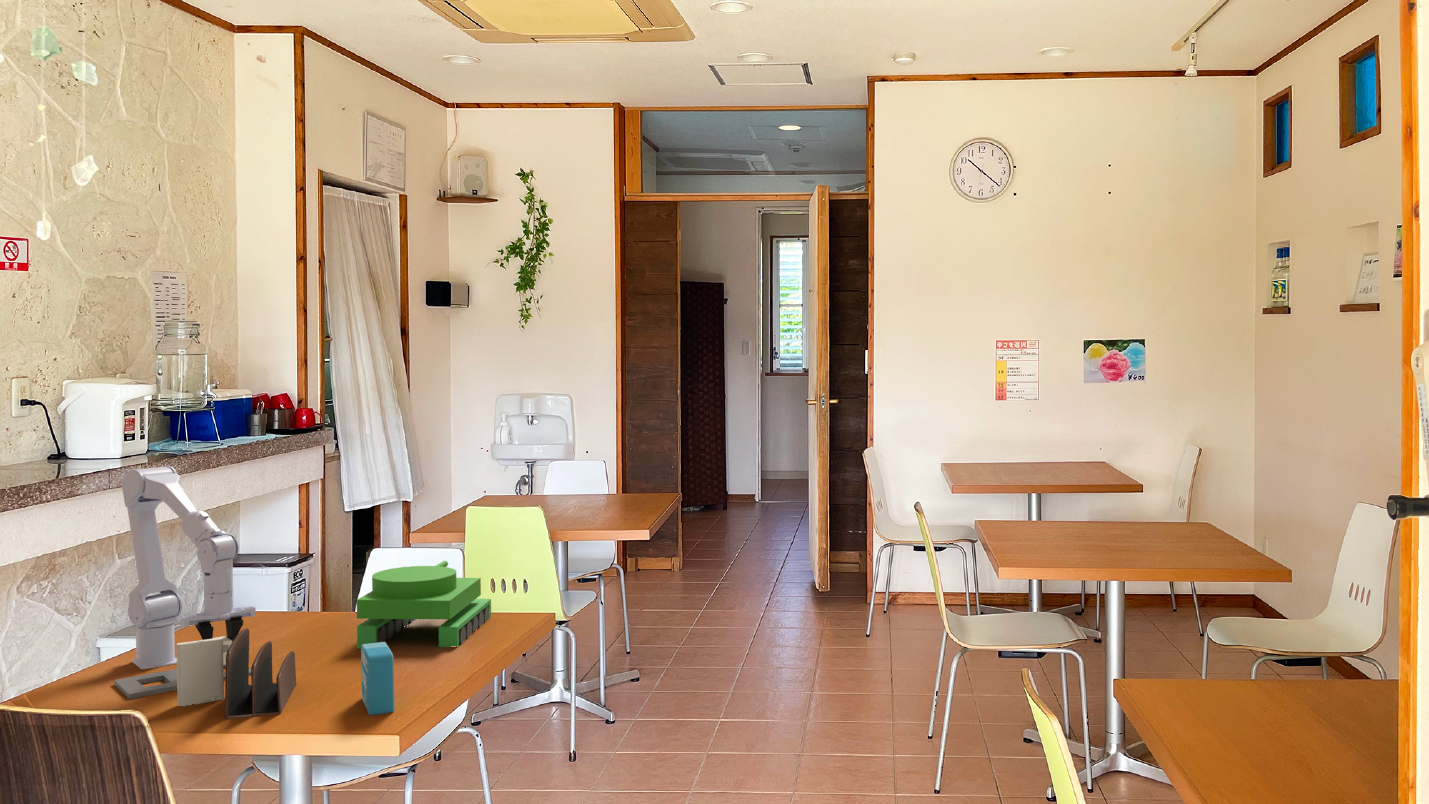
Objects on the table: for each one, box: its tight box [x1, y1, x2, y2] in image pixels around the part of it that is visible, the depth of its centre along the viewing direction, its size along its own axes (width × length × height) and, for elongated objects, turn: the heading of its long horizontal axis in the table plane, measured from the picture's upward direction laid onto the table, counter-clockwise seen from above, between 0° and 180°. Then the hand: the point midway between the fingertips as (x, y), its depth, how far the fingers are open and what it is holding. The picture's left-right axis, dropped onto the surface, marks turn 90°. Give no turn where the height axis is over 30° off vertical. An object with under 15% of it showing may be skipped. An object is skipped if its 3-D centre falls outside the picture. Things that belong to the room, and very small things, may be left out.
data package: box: [360, 641, 395, 716], centre depth 204 cm, size 12×4×12 cm, turn 25°
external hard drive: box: [176, 637, 225, 707], centre depth 209 cm, size 2×8×12 cm, turn 123°
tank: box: [356, 560, 492, 650], centre depth 263 cm, size 24×35×16 cm
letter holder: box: [224, 627, 297, 720], centre depth 209 cm, size 10×20×14 cm, turn 14°
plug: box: [213, 635, 232, 665], centre depth 230 cm, size 8×4×5 cm, turn 41°
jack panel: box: [113, 665, 251, 700], centre depth 225 cm, size 13×24×1 cm, turn 131°
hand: (220, 654), depth 229 cm, fingers closed on plug, 3 cm apart
